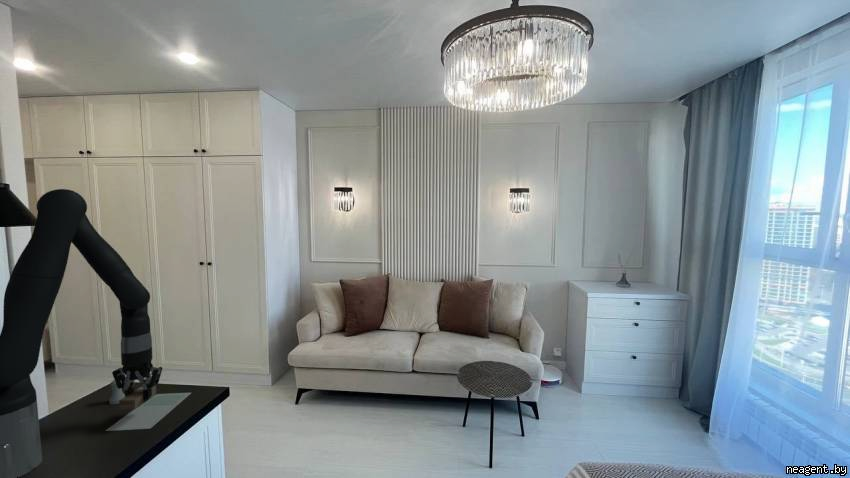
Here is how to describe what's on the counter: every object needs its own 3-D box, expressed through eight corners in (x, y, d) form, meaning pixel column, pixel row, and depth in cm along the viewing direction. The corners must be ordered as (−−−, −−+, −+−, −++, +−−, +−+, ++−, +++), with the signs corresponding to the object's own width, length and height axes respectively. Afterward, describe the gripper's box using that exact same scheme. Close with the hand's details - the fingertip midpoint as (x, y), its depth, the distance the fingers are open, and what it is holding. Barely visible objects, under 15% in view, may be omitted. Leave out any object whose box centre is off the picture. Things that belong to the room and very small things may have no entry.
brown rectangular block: (135, 409, 103) (134, 399, 102) (119, 409, 102) (119, 400, 102) (156, 394, 112) (156, 385, 111) (142, 394, 111) (141, 385, 111)
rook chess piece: (113, 399, 120) (112, 378, 119) (128, 397, 121) (127, 376, 121) (106, 406, 116) (104, 384, 115) (122, 404, 117) (120, 382, 116)
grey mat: (150, 429, 103) (150, 428, 103) (105, 432, 102) (105, 430, 102) (191, 393, 124) (191, 392, 124) (154, 395, 123) (154, 394, 123)
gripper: (102, 352, 102) (104, 407, 103) (151, 351, 103) (153, 405, 104) (122, 343, 109) (124, 394, 110) (168, 343, 110) (170, 393, 111)
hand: (138, 399), depth 107 cm, fingers closed on brown rectangular block, 4 cm apart
